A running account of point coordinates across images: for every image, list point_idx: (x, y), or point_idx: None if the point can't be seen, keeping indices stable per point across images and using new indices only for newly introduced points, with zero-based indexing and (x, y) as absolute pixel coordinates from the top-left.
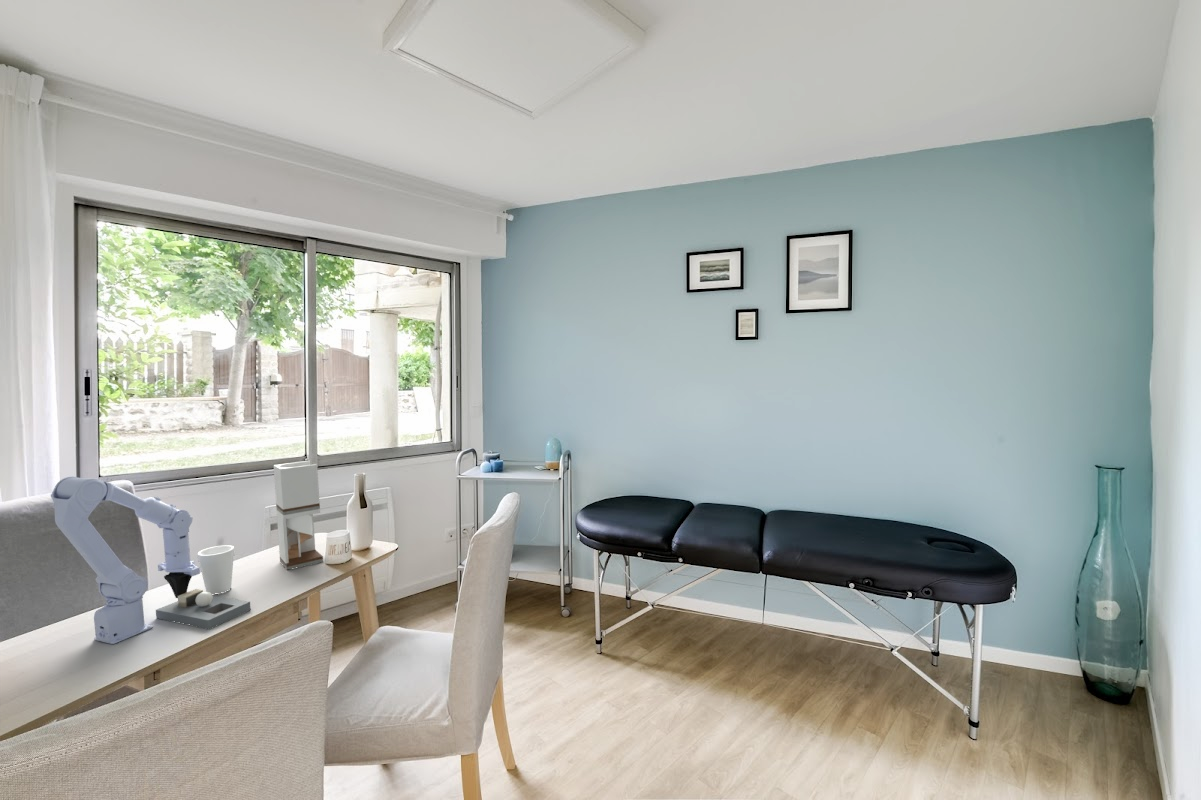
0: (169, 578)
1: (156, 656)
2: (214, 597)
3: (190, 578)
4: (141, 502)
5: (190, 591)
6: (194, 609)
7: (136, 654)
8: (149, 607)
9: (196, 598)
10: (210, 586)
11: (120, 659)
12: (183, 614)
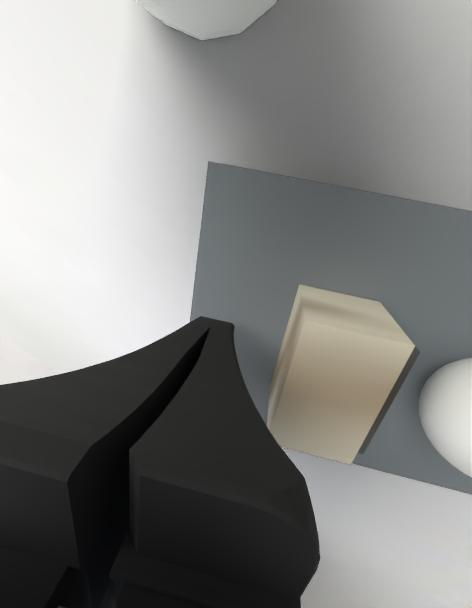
0: (115, 603)
1: (458, 595)
2: (438, 241)
3: (263, 428)
4: None
5: (300, 372)
6: (415, 419)
7: (375, 578)
8: (29, 284)
9: (464, 473)
10: (208, 1)
11: (348, 589)
12: (391, 466)
